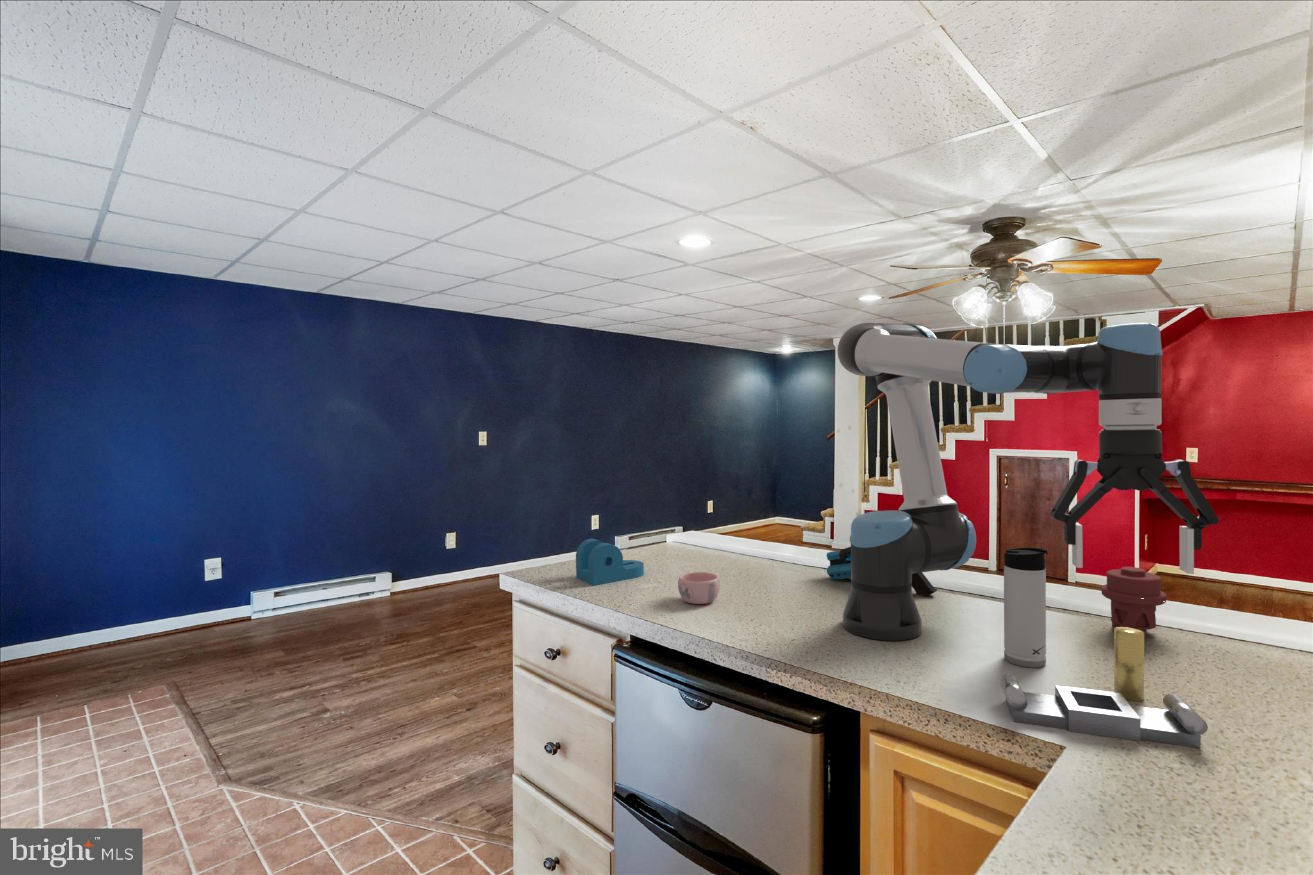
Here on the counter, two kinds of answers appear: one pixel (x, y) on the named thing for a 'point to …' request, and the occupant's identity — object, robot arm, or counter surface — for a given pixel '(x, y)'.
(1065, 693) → the square socket base
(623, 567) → the camera mount
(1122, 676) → the pin
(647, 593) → the counter surface
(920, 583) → the gun
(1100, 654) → the counter surface
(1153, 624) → the mechanical component
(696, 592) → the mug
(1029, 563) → the travel mug
